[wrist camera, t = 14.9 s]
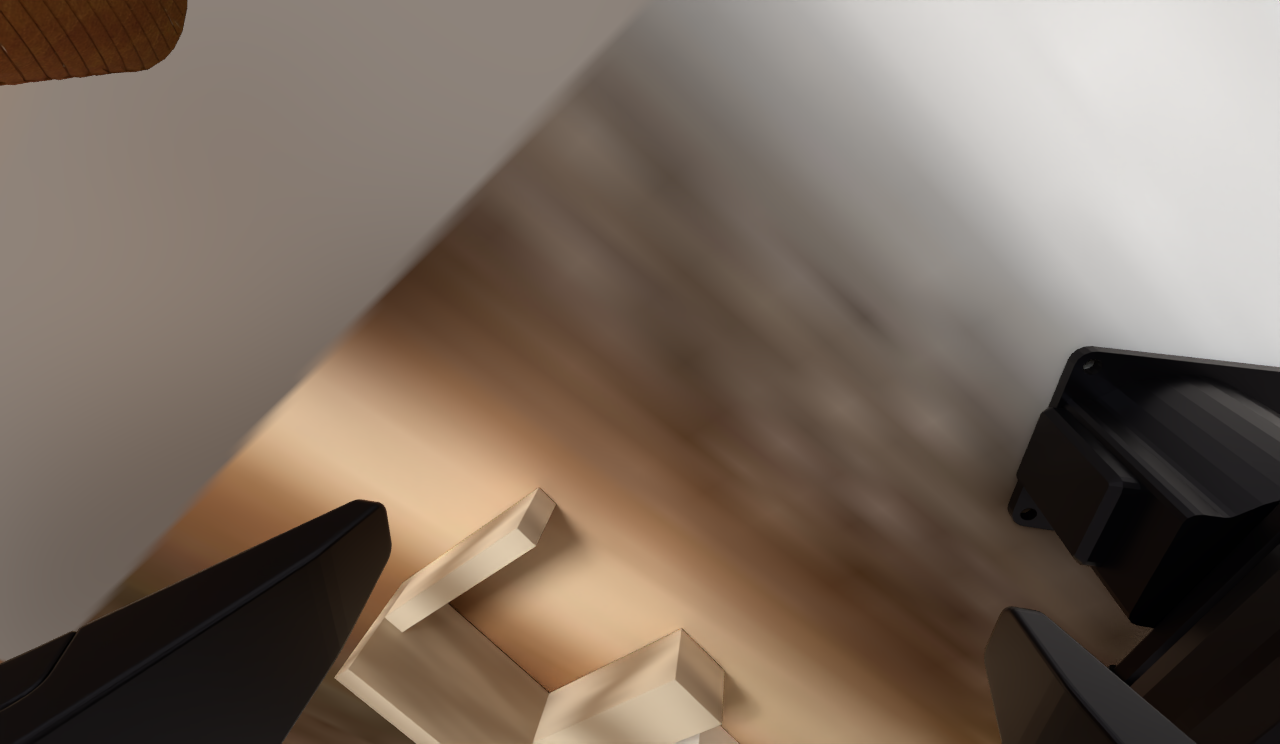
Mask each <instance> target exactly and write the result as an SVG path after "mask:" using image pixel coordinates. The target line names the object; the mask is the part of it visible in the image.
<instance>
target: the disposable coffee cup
mask: <svg viewBox="0 0 1280 744" xmlns="http://www.w3.org/2000/svg"><path fill="white" fill-rule="evenodd" d="M186 11H187V0H0V86H1V85H17V84H23V83H28V82H39V81H47V80H52V79H56V80H62V79H67V78H73V77H79V78H81V77H87V76H92V75H96V76H97V75H104V74H111V73H121V72H137V71H142V70H148V69H150V68H151V67H153V66H154V65H156V64H157V63H159V62H160V61H162V60H164V59H165V58H166V57H167V56H168V55H169V54H170V52H171V51H172V50H173V49H174V48H175V45H176V44H177V41H178V40H179V37H180V35H181V33H182V31H183V26H184V21H185V16H186Z"/></svg>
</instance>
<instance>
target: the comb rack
mask: <svg viewBox="0 0 1280 744" xmlns="http://www.w3.org/2000/svg"><path fill="white" fill-rule="evenodd" d="M555 505H556V504H555V503H554V502H553V501H552V500H551V499H550V498H549V497H548V496H547V495H546V494H545V493H544V492H543V491H542V490H541V489H540V488H537V489H536V490H535V491H533V492H532V493H530V494H529V495H527V496H526V497H525V498H523V499H522V500H520V501H519V502H517V503H516V504H515V505H513V506H512V507H510V508H509V509H507V510H506V511H505V512H503V513H502V514H500V515H499V516H497V517H496V518H495V519H493V520H492V521H490V522H489V523H487V524H486V525H485V526H483V527H482V528H480V529H479V530H477V531H476V532H475V533H473V534H472V535H470V536H469V537H467V538H466V539H465V540H463V541H462V542H460V543H459V544H457V545H456V546H455V547H453V548H452V549H450V550H449V551H447V552H446V553H445V554H443V555H442V556H440V557H439V558H437V559H436V560H435V561H433V562H432V563H430V564H429V565H427V566H426V567H425V568H423V569H422V570H420V571H419V572H417V573H416V574H415V575H413V576H412V577H410V578H409V579H407V580H406V581H405V582H403V583H402V584H401V586H400V587H399V588H398V590H397V591H396V592H395V594H394V595H393V597H392V598H391V599H390V601H389V602H388V604H387V605H386V606H385V608H384V609H383V611H382V612H381V613H380V615H379V616H378V618H377V619H376V620H375V622H374V623H373V625H372V626H371V627H370V629H369V630H368V632H367V633H366V634H365V636H364V637H363V639H362V640H361V641H360V643H359V644H358V645H357V647H356V648H355V650H354V651H353V652H352V654H351V655H350V657H349V658H348V659H347V661H346V662H345V664H344V665H343V666H342V668H341V669H340V671H339V672H338V673H337V675H336V676H335V679H336V680H338V681H339V682H340V683H341V684H343V685H344V686H345V687H346V688H348V689H349V690H350V691H351V692H353V693H354V694H355V695H356V696H358V697H359V698H360V699H361V700H363V701H364V702H365V703H366V704H368V705H369V706H370V707H371V708H373V709H374V710H375V711H376V712H378V713H379V714H380V715H381V716H383V717H384V718H385V719H386V720H388V721H389V722H390V723H391V724H393V725H394V726H395V727H396V728H398V729H399V730H400V731H401V732H403V733H404V734H405V735H406V736H408V737H409V738H410V739H411V740H413V741H414V742H415V743H416V744H673V743H676V742H678V741H681V740H683V739H686V738H689V737H691V736H694V735H696V734H699V733H701V732H704V731H706V730H709V729H712V728H714V727H717V726H719V725H722V714H723V692H724V670H723V669H722V668H721V667H720V666H719V665H718V664H717V663H716V662H715V661H714V660H713V659H712V658H711V657H710V656H709V655H708V654H707V653H706V652H705V651H704V650H703V649H702V648H701V647H700V646H699V645H698V644H697V643H696V642H695V641H694V640H693V639H692V638H691V637H690V636H689V635H687V634H686V633H685V632H684V631H683V630H682V629H680V630H678V631H676V632H674V633H672V634H670V635H668V636H666V637H663V638H661V639H659V640H657V641H655V642H653V643H651V644H649V645H647V646H645V647H643V648H641V649H639V650H637V651H635V652H633V653H631V654H629V655H627V656H625V657H623V658H621V659H619V660H616V661H614V662H612V663H610V664H608V665H606V666H604V667H602V668H600V669H598V670H596V671H594V672H592V673H590V674H588V675H586V676H584V677H582V678H580V679H578V680H576V681H574V682H572V683H569V684H567V685H565V686H563V687H561V688H559V689H557V690H555V691H553V692H551V693H548V692H547V691H546V690H545V689H544V688H543V687H542V686H540V685H539V684H538V683H537V682H536V681H535V680H534V679H532V678H531V677H530V676H529V675H528V674H527V673H526V672H525V671H523V670H522V669H521V668H520V667H519V666H518V665H517V664H516V663H514V662H513V661H512V660H511V659H510V658H509V657H508V656H506V655H505V654H504V653H503V652H502V651H501V650H500V649H499V648H497V647H496V646H495V645H494V644H493V643H492V642H491V641H490V640H488V639H487V638H486V637H485V636H484V635H483V634H482V633H480V632H479V631H478V630H477V629H476V628H475V627H474V626H473V625H471V624H470V623H469V622H468V621H467V620H466V619H465V618H464V617H462V616H461V615H460V614H459V613H458V612H457V611H456V610H455V609H453V608H452V607H451V606H450V605H449V604H448V602H450V601H452V600H453V599H455V598H456V597H458V596H459V595H461V594H462V593H464V592H466V591H467V590H469V589H470V588H472V587H473V586H475V585H476V584H478V583H480V582H481V581H483V580H484V579H486V578H487V577H489V576H490V575H492V574H494V573H495V572H497V571H498V570H500V569H501V568H503V567H504V566H506V565H507V564H509V563H511V562H512V561H514V560H515V559H517V558H518V557H520V556H521V555H523V554H525V553H526V552H528V551H529V550H531V549H532V548H534V547H535V546H536V545H537V543H538V541H539V539H540V537H541V534H542V532H543V530H544V528H545V526H546V524H547V522H548V520H549V518H550V516H551V514H552V511H553V509H554V507H555Z"/></svg>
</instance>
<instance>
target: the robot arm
mask: <svg viewBox="0 0 1280 744" xmlns="http://www.w3.org/2000/svg"><path fill="white" fill-rule="evenodd" d="M1091 359H1095V363H1094V365H1093V366H1092V367H1090V368H1088V369H1083V365H1084V364H1085V363H1086V362H1087V361H1089V360H1091ZM1017 478H1018V479H1019V480H1018V482H1017V485H1016V487H1015V489H1014V492H1013V494H1012V497H1011V499H1010V502H1009V504H1008V511H1009V514H1010V515H1011V517H1012V519H1013V520H1014V521H1015V522H1016V523H1017V524H1019V525H1022V526H1027V527H1034V528H1041V529H1047V530H1054V531H1055V532H1056V533H1057V535H1058V536H1059V538H1060V539H1061V541H1062V542H1063V543H1064V545H1065V546H1066V548H1067V549H1068V550H1069V552H1070V553H1071V555H1072V556H1073V557H1074V559H1075V560H1076V561H1077V562H1078V563H1079V564H1080V565H1086V566H1091V568H1092V569H1093V570H1094V572H1095V573H1096V575H1097V576H1098V577H1099V579H1100V580H1101V581H1102V583H1103V584H1104V586H1105V587H1106V588H1107V590H1108V591H1109V593H1110V594H1111V595H1112V597H1113V598H1114V599H1115V601H1116V602H1117V604H1118V605H1119V606H1120V608H1121V609H1122V610H1123V612H1124V613H1125V615H1126V616H1127V617H1128V619H1129V620H1130V621H1131V623H1133V624H1135V625H1138V626H1144V627H1150V628H1154V629H1153V630H1152V631H1151V632H1150V633H1149V634H1148V635H1147V636H1146V637H1145V638H1144V639H1143V640H1142V641H1141V642H1140V643H1139V644H1138V645H1137V646H1136V647H1135V648H1134V649H1133V650H1132V651H1131V652H1130V653H1129V654H1128V655H1127V656H1126V657H1125V658H1124V659H1123V660H1122V661H1121V662H1120V663H1119V664H1118V665H1117V666H1116V665H1110V666H1109V667H1108V668H1107V667H1106V666H1105V665H1104V664H1102V663H1101V662H1100V661H1099V660H1098V659H1096V658H1095V657H1094V656H1093V655H1092V654H1091V653H1089V652H1088V651H1087V650H1086V649H1085V648H1084V647H1082V646H1081V645H1080V644H1079V643H1078V642H1076V641H1075V640H1074V639H1073V638H1072V637H1071V636H1069V635H1068V634H1067V633H1066V632H1065V631H1063V630H1062V629H1061V628H1060V627H1059V626H1058V625H1056V624H1055V623H1054V622H1053V621H1052V620H1050V619H1049V618H1048V617H1047V616H1046V615H1044V614H1043V613H1041V612H1039V611H1036V610H1030V609H1024V608H1018V607H1007V608H1005V609H1004V610H1003V611H1002V612H1001V614H1000V616H999V618H998V620H997V623H996V625H995V627H994V629H993V632H992V634H991V636H990V638H989V641H988V643H987V645H986V648H985V653H984V663H985V669H986V674H987V678H988V683H989V687H990V692H991V696H992V701H993V706H994V710H995V715H996V719H997V724H998V728H999V733H1000V738H1001V742H1002V744H1280V367H1273V366H1264V365H1255V364H1246V363H1237V362H1228V361H1219V360H1210V359H1201V358H1192V357H1183V356H1174V355H1165V354H1156V353H1147V352H1138V351H1130V350H1121V349H1112V348H1103V347H1094V346H1089V347H1083V348H1080V349H1078V350H1076V351H1075V352H1074V353H1072V354H1071V356H1070V357H1069V359H1068V361H1067V363H1066V366H1065V368H1064V371H1063V373H1062V375H1061V378H1060V380H1059V383H1058V385H1057V388H1056V390H1055V392H1054V395H1053V397H1052V400H1051V402H1050V405H1049V407H1048V408H1047V409H1046V410H1044V411H1043V412H1042V413H1041V415H1040V418H1039V420H1038V422H1037V425H1036V427H1035V430H1034V432H1033V435H1032V437H1031V440H1030V442H1029V444H1028V447H1027V449H1026V452H1025V454H1024V457H1023V459H1022V462H1021V464H1020V467H1019V469H1018V471H1017ZM1026 508H1031V510H1030V511H1028V512H1026V513H1021V512H1022V511H1023V510H1024V509H1026ZM391 547H392V543H391V536H390V530H389V524H388V517H387V511H386V508H385V507H384V505H383V504H381V503H379V502H374V501H368V500H354V501H351V502H349V503H347V504H345V505H343V506H341V507H338V508H336V509H334V510H332V511H330V512H328V513H326V514H323V515H321V516H319V517H317V518H315V519H313V520H310V521H308V522H306V523H304V524H302V525H300V526H297V527H295V528H293V529H291V530H289V531H287V532H285V533H282V534H280V535H278V536H276V537H274V538H272V539H269V540H267V541H265V542H263V543H261V544H259V545H257V546H254V547H252V548H250V549H248V550H246V551H244V552H241V553H239V554H237V555H235V556H233V557H231V558H228V559H226V560H224V561H222V562H220V563H218V564H215V565H213V566H211V567H209V568H207V569H205V570H203V571H200V572H198V573H196V574H194V575H192V576H190V577H187V578H185V579H183V580H181V581H179V582H177V583H174V584H172V585H170V586H168V587H166V588H164V589H162V590H159V591H157V592H155V593H153V594H151V595H149V596H146V597H144V598H142V599H140V600H138V601H136V602H133V603H131V604H129V605H127V606H125V607H123V608H120V609H118V610H116V611H114V612H112V613H110V614H108V615H105V616H103V617H101V618H99V619H97V620H95V621H92V622H90V623H88V624H86V625H84V626H82V627H80V628H79V629H78V631H77V632H76V631H71V632H68V633H66V634H64V635H62V636H60V637H58V638H56V639H53V640H51V641H49V642H47V643H45V644H43V645H41V646H38V647H36V648H34V649H32V650H30V651H27V652H25V653H23V654H21V655H18V656H16V657H14V658H12V659H9V660H7V661H5V662H3V663H1V664H0V744H282V743H283V741H284V739H285V738H286V736H287V735H288V733H289V732H290V730H291V729H292V727H293V725H294V724H295V722H296V721H297V719H298V718H299V716H300V715H301V713H302V711H303V710H304V708H305V707H306V705H307V704H308V702H309V701H310V699H311V698H312V696H313V694H314V693H315V691H316V690H317V688H318V687H319V685H320V684H321V682H322V680H323V679H324V677H325V676H326V674H327V673H328V671H329V670H330V668H331V666H332V665H333V663H334V662H335V660H336V658H337V657H338V655H339V653H340V652H341V650H342V648H343V646H344V645H345V643H346V641H347V639H348V637H349V636H350V634H351V632H352V630H353V628H354V626H355V624H356V622H357V620H358V618H359V616H360V614H361V612H362V610H363V608H364V606H365V604H366V602H367V600H368V599H369V597H370V595H371V593H372V591H373V589H374V587H375V585H376V583H377V581H378V579H379V577H380V575H381V573H382V571H383V569H384V567H385V565H386V564H387V562H388V559H389V557H390V553H391Z"/></svg>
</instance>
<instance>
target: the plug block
mask: <svg viewBox="0 0 1280 744" xmlns="http://www.w3.org/2000/svg"><path fill="white" fill-rule="evenodd" d="M673 744H739V743H738V742H737V741H736V740H735V739H734V738H733V737H732V736H731V735H730V734H729V733H727V732H726V731H725V730H724V729H723V728H722V727H721V726H720V725H719V726H717V727H714V728H712V729H709V730H706V731H704V732H701V733H699V734H696V735H694V736H691V737H689V738H686V739H683V740H681V741H678V742H676V743H673Z"/></svg>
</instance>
